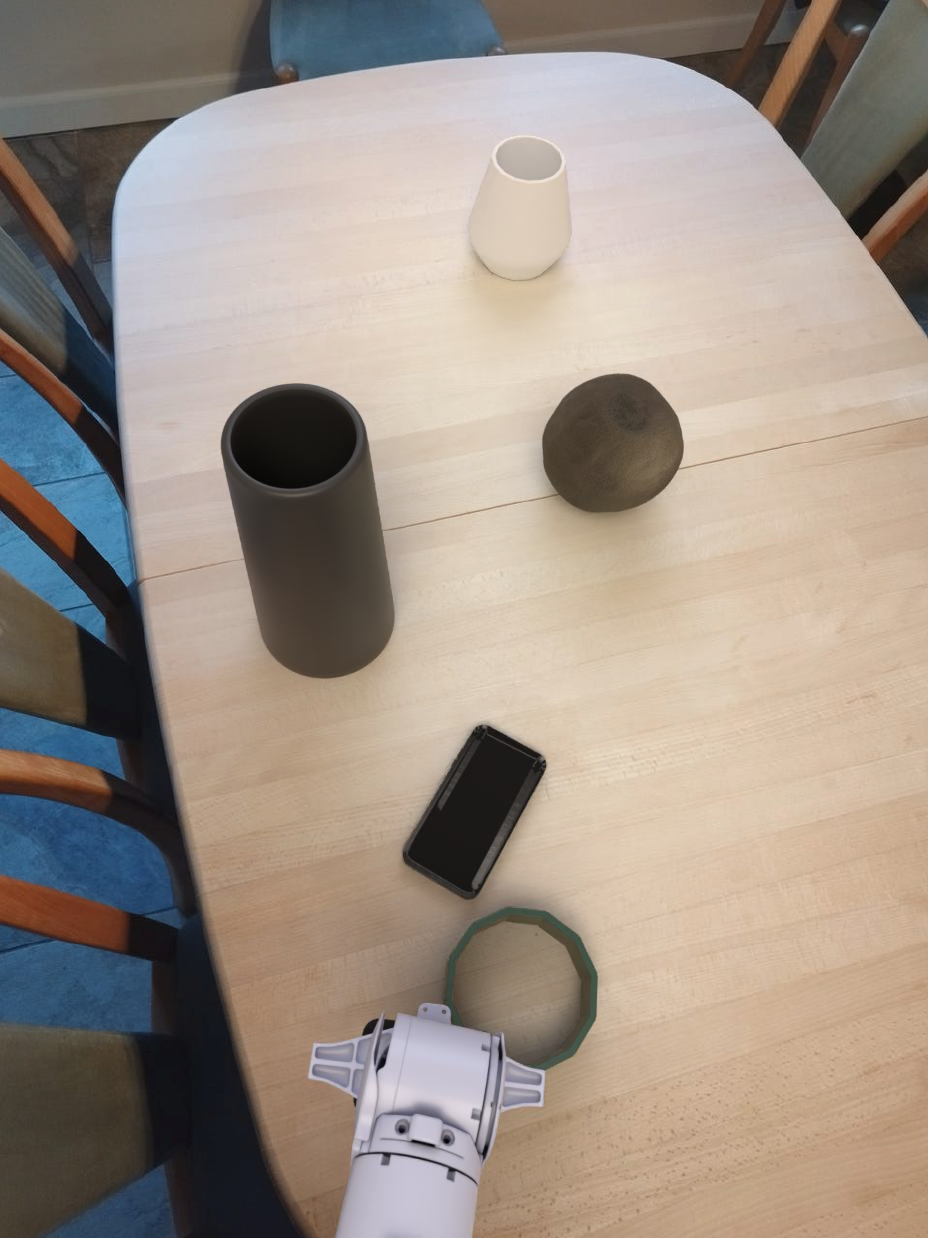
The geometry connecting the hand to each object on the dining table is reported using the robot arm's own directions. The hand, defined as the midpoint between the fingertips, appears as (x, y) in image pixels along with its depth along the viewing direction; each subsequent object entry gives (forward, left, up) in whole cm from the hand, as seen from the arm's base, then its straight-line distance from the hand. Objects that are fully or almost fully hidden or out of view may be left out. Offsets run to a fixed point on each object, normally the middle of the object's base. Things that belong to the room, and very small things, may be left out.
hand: (425, 1068), depth 62 cm
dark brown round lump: (+60, -12, -10) cm, 62 cm away
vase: (+40, +15, -10) cm, 43 cm away
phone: (+22, -2, -10) cm, 24 cm away
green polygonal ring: (+7, -7, -10) cm, 14 cm away
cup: (+96, 0, -10) cm, 96 cm away
